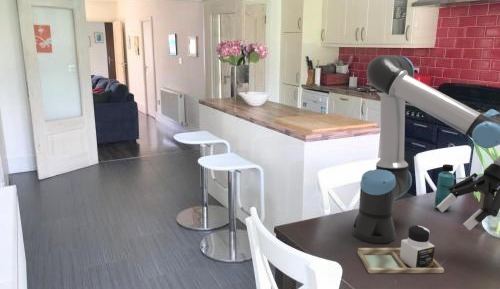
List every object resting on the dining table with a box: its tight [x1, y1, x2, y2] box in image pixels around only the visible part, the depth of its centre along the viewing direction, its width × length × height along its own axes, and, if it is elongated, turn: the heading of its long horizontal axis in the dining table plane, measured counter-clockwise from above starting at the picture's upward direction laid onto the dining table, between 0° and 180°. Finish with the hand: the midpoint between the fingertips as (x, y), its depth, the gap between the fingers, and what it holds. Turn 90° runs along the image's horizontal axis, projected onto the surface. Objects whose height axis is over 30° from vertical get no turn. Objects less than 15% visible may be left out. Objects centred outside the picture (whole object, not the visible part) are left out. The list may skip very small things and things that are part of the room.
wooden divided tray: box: [357, 247, 445, 274], centre depth 127 cm, size 23×12×2 cm, turn 91°
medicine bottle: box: [399, 225, 436, 268], centre depth 126 cm, size 7×7×12 cm
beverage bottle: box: [434, 163, 456, 210], centre depth 168 cm, size 6×7×20 cm
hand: (452, 218), depth 125 cm, fingers open, 13 cm apart
